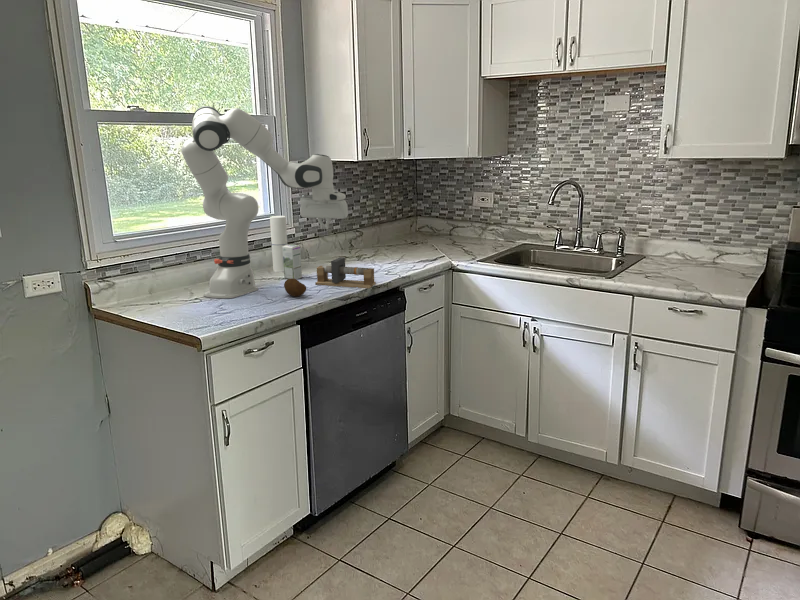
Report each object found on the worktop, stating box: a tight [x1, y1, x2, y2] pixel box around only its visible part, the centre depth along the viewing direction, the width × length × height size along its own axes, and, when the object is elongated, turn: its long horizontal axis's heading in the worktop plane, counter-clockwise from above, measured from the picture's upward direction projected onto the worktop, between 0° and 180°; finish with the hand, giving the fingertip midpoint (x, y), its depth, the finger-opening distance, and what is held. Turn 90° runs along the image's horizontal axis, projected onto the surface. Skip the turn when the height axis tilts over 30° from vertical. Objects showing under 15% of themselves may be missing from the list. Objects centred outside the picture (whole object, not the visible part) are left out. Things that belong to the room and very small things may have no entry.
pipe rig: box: [315, 265, 377, 289], centre depth 253 cm, size 8×24×8 cm, turn 72°
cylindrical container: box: [269, 215, 288, 273], centre depth 279 cm, size 7×7×25 cm
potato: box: [283, 278, 307, 298], centre depth 236 cm, size 7×12×7 cm, turn 53°
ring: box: [330, 256, 347, 283], centre depth 253 cm, size 9×2×9 cm, turn 162°
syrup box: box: [282, 244, 303, 280], centre depth 265 cm, size 6×6×14 cm
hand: (324, 228), depth 251 cm, fingers closed
